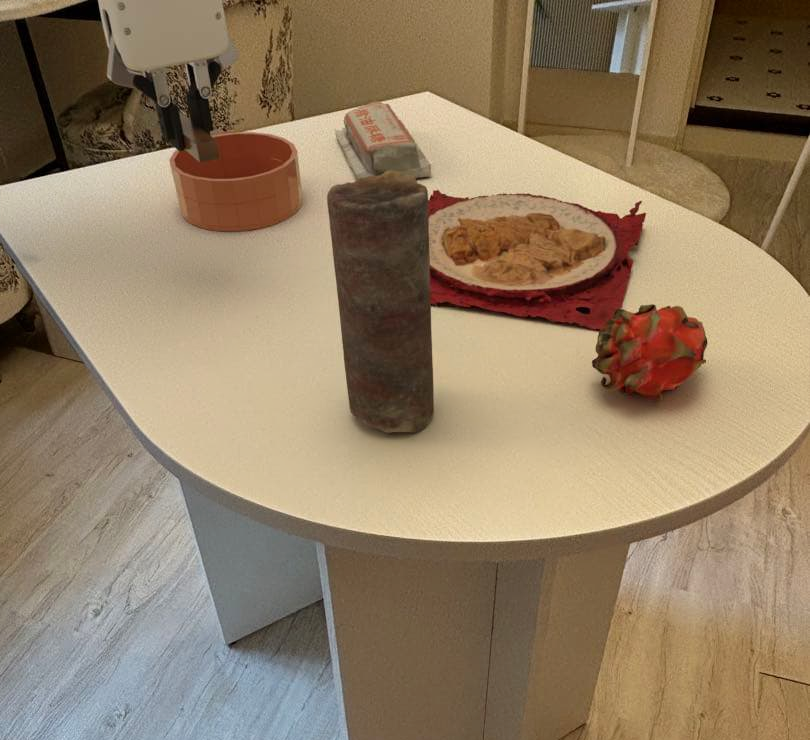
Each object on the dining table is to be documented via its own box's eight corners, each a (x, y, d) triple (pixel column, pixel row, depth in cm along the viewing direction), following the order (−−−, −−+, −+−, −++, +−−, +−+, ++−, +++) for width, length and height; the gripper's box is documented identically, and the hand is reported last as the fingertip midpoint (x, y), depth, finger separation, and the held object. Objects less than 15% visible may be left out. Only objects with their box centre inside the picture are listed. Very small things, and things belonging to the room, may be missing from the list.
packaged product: (433, 139, 101) (356, 148, 100) (433, 178, 105) (359, 187, 103) (400, 94, 113) (331, 101, 112) (401, 130, 117) (334, 138, 115)
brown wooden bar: (162, 130, 80) (158, 113, 79) (181, 126, 81) (177, 109, 80) (200, 162, 74) (196, 144, 73) (220, 158, 75) (216, 140, 74)
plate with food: (434, 205, 100) (434, 177, 97) (644, 225, 93) (649, 195, 91) (369, 301, 84) (366, 270, 82) (614, 332, 78) (619, 301, 75)
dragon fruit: (574, 415, 72) (675, 395, 76) (638, 409, 64) (747, 387, 69) (562, 318, 70) (666, 304, 75) (626, 300, 62) (738, 286, 67)
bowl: (155, 211, 100) (143, 161, 95) (242, 171, 108) (235, 123, 103) (241, 243, 93) (231, 191, 89) (326, 198, 101) (322, 148, 97)
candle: (348, 443, 67) (326, 207, 53) (345, 391, 72) (325, 164, 58) (438, 436, 67) (440, 201, 53) (429, 386, 72) (429, 158, 58)
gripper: (215, -111, 69) (249, 116, 83) (30, -91, 64) (98, 149, 77) (251, -101, 65) (280, 138, 78) (55, -78, 59) (123, 175, 73)
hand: (190, 142), depth 77 cm, fingers closed on brown wooden bar, 2 cm apart
